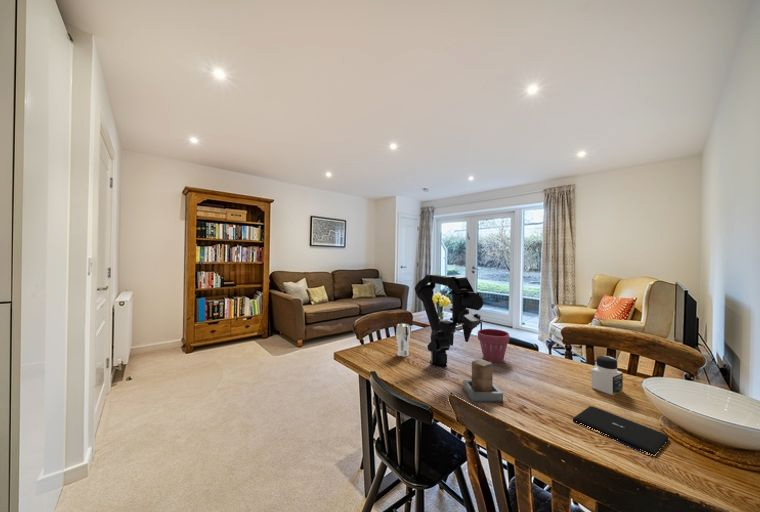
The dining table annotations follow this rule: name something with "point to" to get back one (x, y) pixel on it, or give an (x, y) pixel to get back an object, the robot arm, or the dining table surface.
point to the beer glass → (403, 339)
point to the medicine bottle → (607, 376)
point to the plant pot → (493, 344)
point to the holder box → (482, 393)
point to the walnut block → (482, 376)
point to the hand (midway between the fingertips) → (459, 343)
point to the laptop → (622, 430)
